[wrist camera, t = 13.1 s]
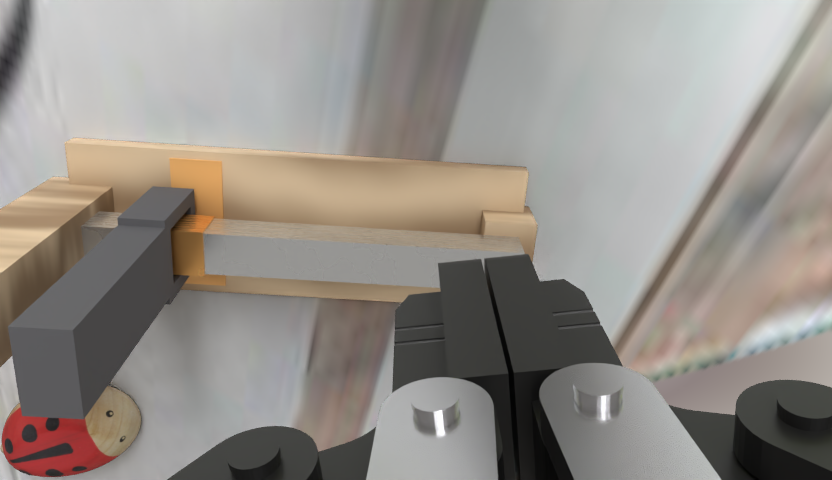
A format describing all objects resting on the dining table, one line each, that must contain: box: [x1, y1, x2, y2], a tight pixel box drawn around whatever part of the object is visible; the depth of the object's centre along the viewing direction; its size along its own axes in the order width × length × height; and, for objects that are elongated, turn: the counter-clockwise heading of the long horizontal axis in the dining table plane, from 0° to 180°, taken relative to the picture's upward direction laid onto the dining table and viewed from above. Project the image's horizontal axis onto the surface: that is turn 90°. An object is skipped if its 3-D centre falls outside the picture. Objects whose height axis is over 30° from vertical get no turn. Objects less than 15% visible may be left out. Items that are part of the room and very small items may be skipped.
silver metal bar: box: [81, 211, 525, 288], centre depth 40 cm, size 3×26×3 cm, turn 86°
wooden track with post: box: [0, 138, 538, 367], centre depth 36 cm, size 9×29×17 cm, turn 86°
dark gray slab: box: [8, 186, 195, 419], centre depth 35 cm, size 5×2×16 cm, turn 176°
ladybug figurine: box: [1, 386, 141, 477], centre depth 48 cm, size 7×10×4 cm
